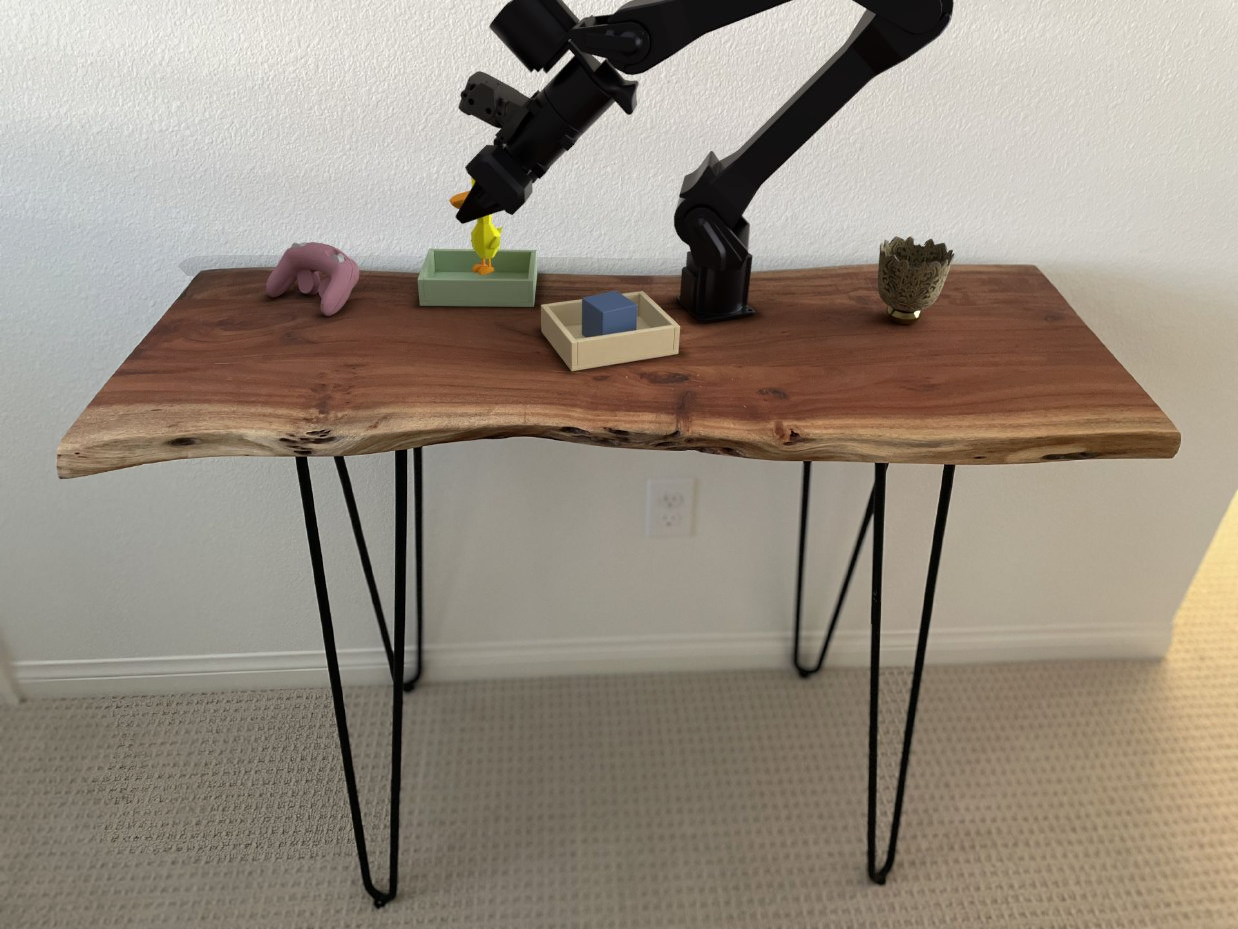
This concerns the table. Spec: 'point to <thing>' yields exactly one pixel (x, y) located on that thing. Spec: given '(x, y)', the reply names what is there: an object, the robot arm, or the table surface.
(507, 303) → the green tray
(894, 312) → the cup
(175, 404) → the table surface
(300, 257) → the video game controller
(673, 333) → the beige tray
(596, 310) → the slate block
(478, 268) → the toy figure
